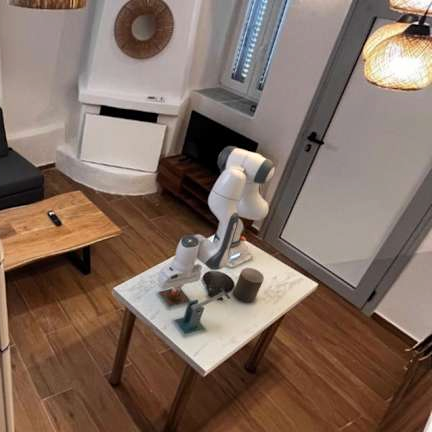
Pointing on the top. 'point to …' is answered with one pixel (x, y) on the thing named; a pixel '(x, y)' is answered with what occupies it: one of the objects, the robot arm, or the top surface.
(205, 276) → the top surface
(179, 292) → the button
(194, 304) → the lever
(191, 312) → the bracket
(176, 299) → the control block
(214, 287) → the gaming controller
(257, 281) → the pillar candle
